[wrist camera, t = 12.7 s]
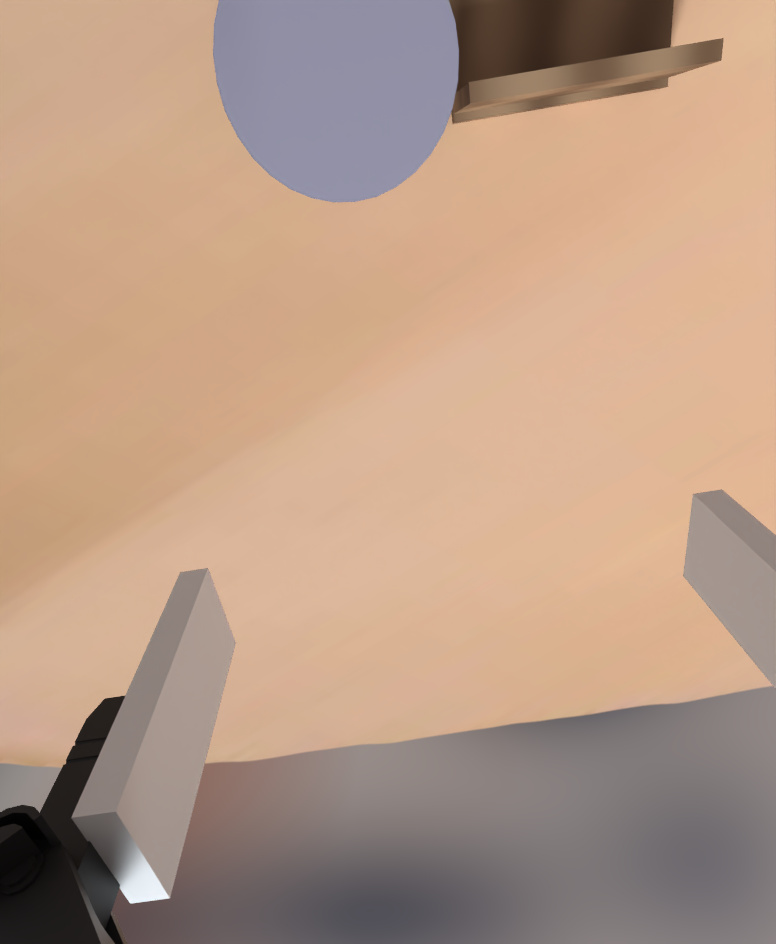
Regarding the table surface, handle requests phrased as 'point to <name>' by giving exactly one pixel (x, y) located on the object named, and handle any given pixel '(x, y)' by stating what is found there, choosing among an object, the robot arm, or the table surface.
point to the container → (337, 88)
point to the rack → (564, 53)
